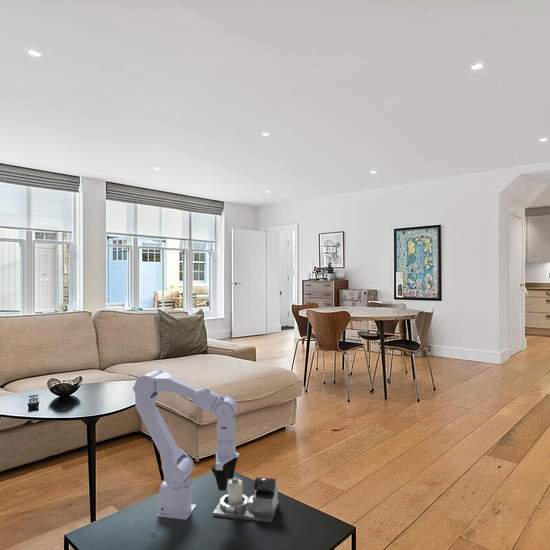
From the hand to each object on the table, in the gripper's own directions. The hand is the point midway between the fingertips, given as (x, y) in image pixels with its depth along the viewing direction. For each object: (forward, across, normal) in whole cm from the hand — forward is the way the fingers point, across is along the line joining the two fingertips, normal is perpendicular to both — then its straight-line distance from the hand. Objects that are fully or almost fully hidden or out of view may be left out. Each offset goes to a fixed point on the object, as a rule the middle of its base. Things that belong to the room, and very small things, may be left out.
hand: (226, 483), depth 129 cm
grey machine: (+9, +4, -5) cm, 12 cm away
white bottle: (+8, +4, -2) cm, 9 cm away
